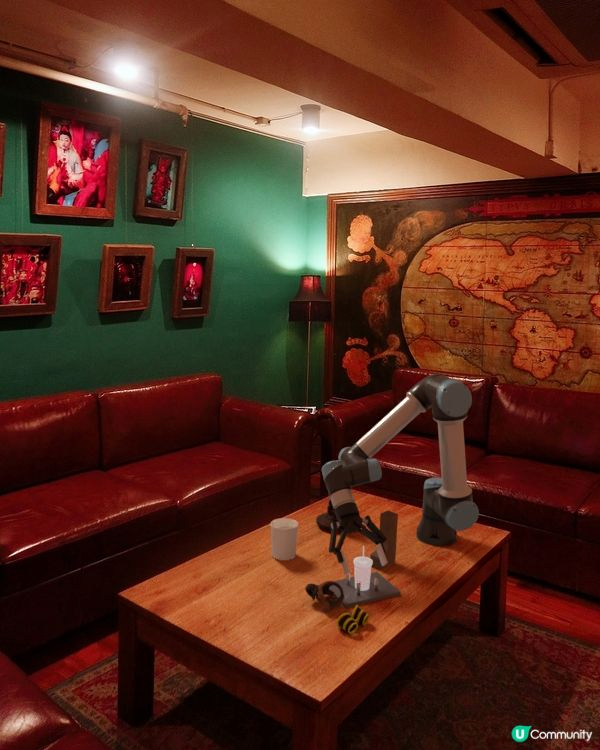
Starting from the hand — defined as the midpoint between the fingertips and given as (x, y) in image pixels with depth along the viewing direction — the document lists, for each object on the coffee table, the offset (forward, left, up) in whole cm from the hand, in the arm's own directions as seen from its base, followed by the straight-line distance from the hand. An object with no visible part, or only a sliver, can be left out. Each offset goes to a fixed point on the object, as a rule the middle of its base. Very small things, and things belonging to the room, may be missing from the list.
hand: (366, 568), depth 205 cm
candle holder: (+13, -34, -9) cm, 38 cm away
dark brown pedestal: (-16, -50, -9) cm, 53 cm away
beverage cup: (0, -2, -8) cm, 8 cm away
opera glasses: (+12, +14, -9) cm, 21 cm away
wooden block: (-16, -15, -9) cm, 24 cm away
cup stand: (0, -2, -9) cm, 9 cm away
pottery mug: (+15, 0, -9) cm, 17 cm away
